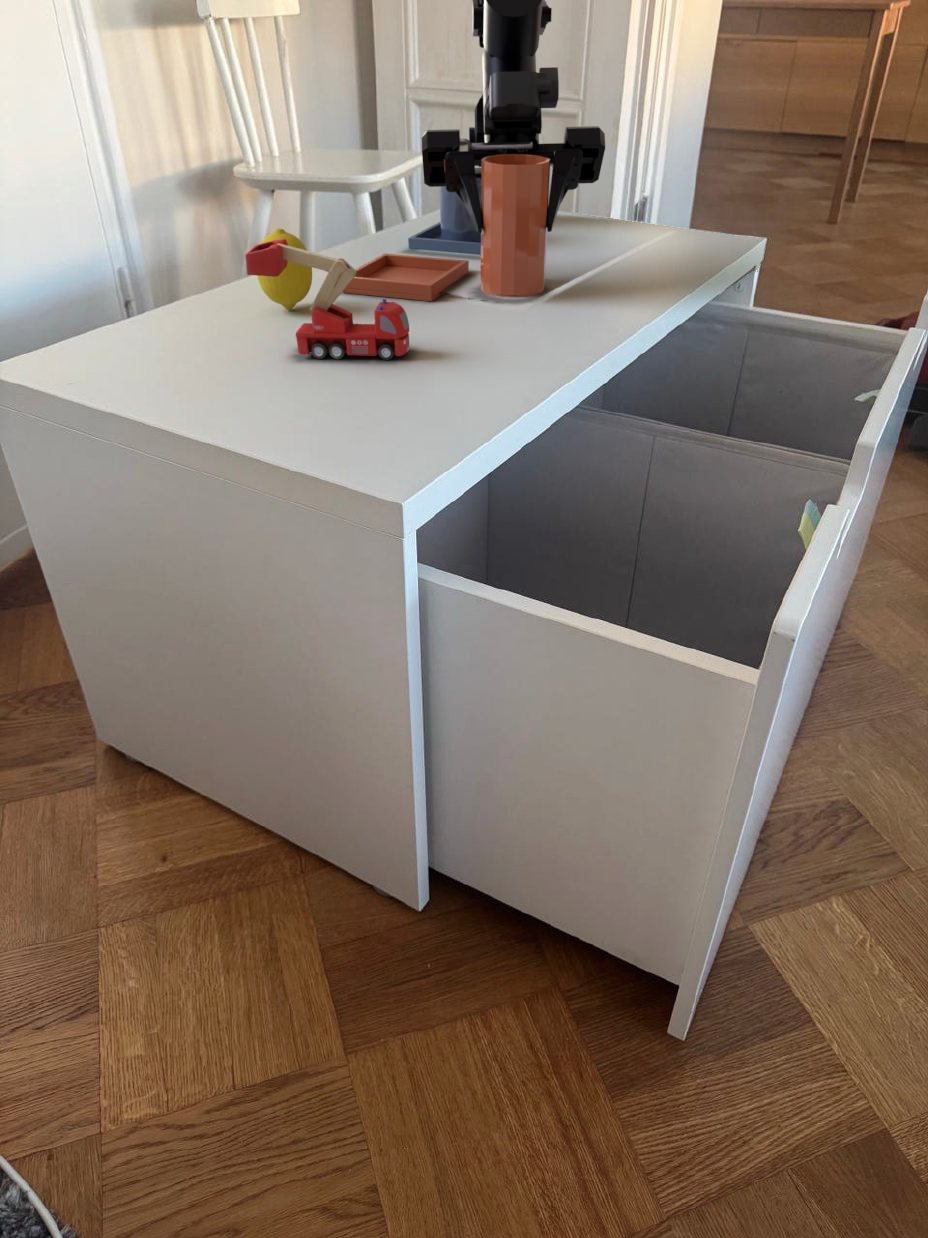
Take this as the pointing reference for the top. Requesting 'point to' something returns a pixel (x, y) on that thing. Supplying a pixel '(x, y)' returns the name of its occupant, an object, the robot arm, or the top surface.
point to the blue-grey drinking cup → (457, 217)
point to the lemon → (287, 276)
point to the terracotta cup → (514, 224)
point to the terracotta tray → (406, 276)
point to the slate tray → (441, 242)
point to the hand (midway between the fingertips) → (514, 229)
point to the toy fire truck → (334, 307)
